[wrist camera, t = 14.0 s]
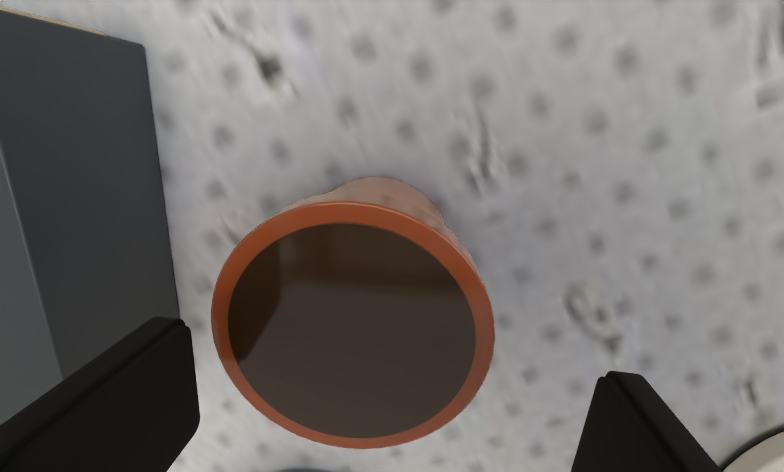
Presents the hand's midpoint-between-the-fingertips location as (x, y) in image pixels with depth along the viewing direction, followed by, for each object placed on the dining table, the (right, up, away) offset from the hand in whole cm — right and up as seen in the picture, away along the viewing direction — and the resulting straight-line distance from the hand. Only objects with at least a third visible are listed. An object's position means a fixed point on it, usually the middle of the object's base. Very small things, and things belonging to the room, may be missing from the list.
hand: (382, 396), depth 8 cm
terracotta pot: (0, +3, +8) cm, 8 cm away
